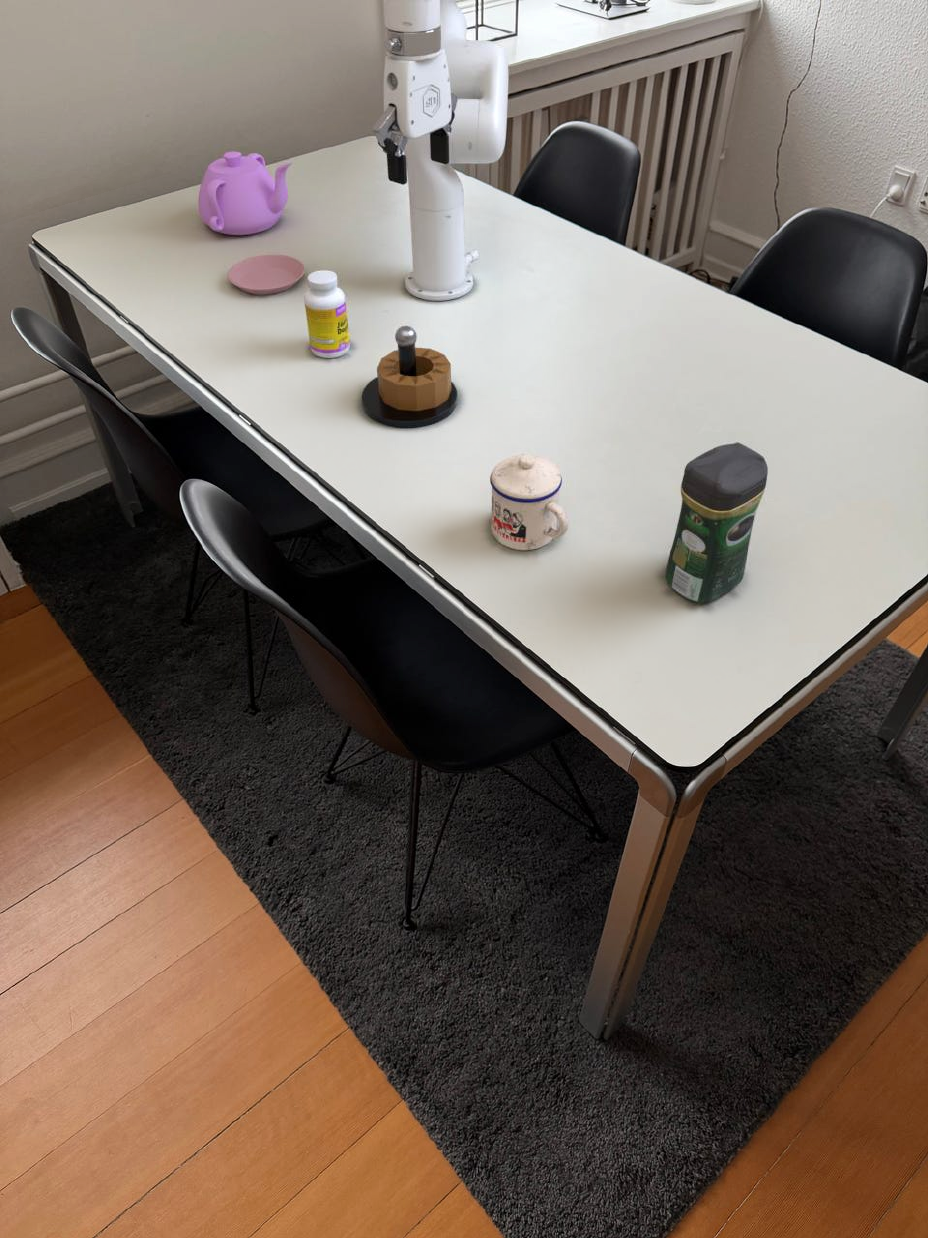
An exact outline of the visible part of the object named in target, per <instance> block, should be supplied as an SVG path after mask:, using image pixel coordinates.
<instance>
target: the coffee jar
mask: <svg viewBox="0 0 928 1238" xmlns="http://www.w3.org/2000/svg"><path fill="white" fill-rule="evenodd" d="M768 469H769V467H768V464H767V462H766V459H765V457H764V456H762V455H761V454H760V453H759V452H757V451H756V450H754V449H752V448H750V447H749V446H746V445H745V444H743V443H741V442H738V441H736V442H734V443H726V444H722V445H718V446H716V447H715V446H714V447H712V448H711V449H709V450H707V451H705V452H703V453H701V454H699V455H698V456H696V457H695V458H693V459H692V460H690V461H688V462H687V464H686V465H685V468H684V470H683V476H682V480H681V484H680V495H681V507H680V511H679V515H678V521H677V524H676V528H675V533H674V537H673V541H672V545H671V547H670V548H671V549H670V552H669V555H668V559H667V564H666V568H665V573H664V579H665V582H666V583H667V585H668V586H669V587H670V588H671V589H672V590H673V591H674V592H675V593H676V594H678V595H679V596H680V597H682V598H684V599H686V600H688V601H691V602H694V603H700V604H708V603H710V602H713V601H715V600H718V599H719V598H721V597H723V596H724V595H727V593H729V592H731V591H732V590H733V589H735V588H736V587H737V586H738V585H739V584H740V583H741V582H742V581H743V579H744V575H745V571H746V566H747V560H748V554H749V547H750V542H751V537H752V532H753V526H754V522H755V517H756V514H757V511H758V509H759V505H760V502H761V500H762V498H763V495H764V493H765V490H766V487H767V481H768V473H769V470H768Z"/></svg>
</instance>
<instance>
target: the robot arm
mask: <svg viewBox="0 0 928 1238" xmlns="http://www.w3.org/2000/svg"><path fill="white" fill-rule="evenodd" d="M383 16H384V18H383V19H384V35H385V41H384V45H383V46H384V49H385V50H386V51H385V52H386V56H384V57H385V58H384V67H383V113H382V114H381V116H380V117H379V119H378V120H377V121H376V122H375V124H374V125H373V127H372V131H373V134H374V136H375V138H376V140H377V145H378V146H379V147H380V148H381V149H382V152H383V153H384V154H386V164H387V165H386V166H387V177H388V178H387V179H388V181H390V182H392V183H396V184H399V185H402V186H403V185H406V184H408V199H409V219H410V220H409V221H410V237H411V238H410V239H411V257H412V258H411V259H412V271H411V272H409V273H408V275H406V277H405V280H404V283H405V289H406V291H407V292H408V294H410V295H412V296H414V297H415V298H418V299H422V300H426V301H436V302H437V301H438V302H439V301H441V302H442V301H451V300H454V299H458V298H460V297H463V296H465V295H467V294H468V293H470V291H471V290H472V289H473V287H474V277H473V275H472V273H470V272H469V271H468V268H469V266H471V265H470V264H472V263H474V262H476V261H478V260H479V258H480V255H479V254H480V253H479V252H478V251H477V249H472V250H470V251H468V252H467V253H466V254H465V192H464V186H463V183H462V180H461V178H460V176H459V175H458V174H457V173H458V172H456V170H455V169H454V167H453V166H452V165H454V164H467V165H468V164H473V165H475V164H476V165H477V164H478V165H479V164H480V165H481V164H482V165H483V164H484V165H485V164H493V163H495V162H498V161H499V160H500V159H501V158H502V155H503V153H504V151H505V146H506V139H507V126H508V125H507V124H508V123H507V122H508V101H509V63H508V57H507V53H506V51H505V49H504V48H503V47H502V45H501V44H500V43H498V42H496V41H492V40H483V39H482V40H481V39H480V40H478V39H477V40H476V39H467V33H468V23H467V19H466V17H465V15H464V13H463V11H462V10H461V9H460V7H459V5H458V4H457V3H456V2H455V0H383ZM396 138H398V140H397V143H395V140H396Z"/></svg>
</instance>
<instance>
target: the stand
mask: <svg viewBox="0 0 928 1238" xmlns="http://www.w3.org/2000/svg"><path fill="white" fill-rule="evenodd" d="M394 338H395V342H396V344H397V350H398V356H399V370H400V374H401V375H404V376H412V377H416V376H417V370H416V352H415V348H416V342H417V339H418V338H417V331H416V330H415V329H414V328H413V327H411V326H410V325H403V326H400V327H399V328H398V329H397V330H396V332H395V335H394ZM360 398H361V406H362V409H363V411H364V413H365V414H366V415H367V416H368V417H369V418H370V419H371V420H373V421H375V422H376V423H378V424H381V425H384V426H387V427H392V428H400V429H416V428H424V427H428V426H431V425H434V424H437V423H439V422H441V421H443V420H445V419H446V418H448V417H449V416H450V415H451V414H452V413H453V412H454V411H455V409H456V408H457V405H458V400H459V399H458V390H457V387H456V385H455V384H454V383H453V381H451V392H450V395H449V398H448V400H446V401H445V402H443V403H442V404H440V405H439V406H437V407H436V408H431V409H426V410H422V411H407V410H398V409H396V408H394V407H392V406H389V405H387V404H385V403H384V401H383V400H382V398H381V396H380V394H379V388H378V376H377V377H374V378H373V379H372V380H370V382H368V383H367V384H366V385H365V387H364V388H363V389H362V392H361V397H360Z"/></svg>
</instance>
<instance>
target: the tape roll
mask: <svg viewBox="0 0 928 1238" xmlns="http://www.w3.org/2000/svg"><path fill="white" fill-rule="evenodd" d="M415 352H416V370H417V376H416V377H412V376H404V375H401V374H400V370H399V356H398V349H395V350H393V351H391V352H389V353H388V354H386V355H384V356H383V357H381V358H380V361H379V363H378V364H377V367H376V373H377V377H378V388H379V394H380V396H381V398H382V400H383V401H384V403H385V404H387V405H389V406H392V407H394V408H396V409H398V410H407V411H422V410H426V409H431V408H436V407H437V406H439V405H440V404H442V403H443V402H445V401H446V400H448V398H449V395H450V392H451V382H452V363H451V362H450V360H449V359H448V357H447V356H446V355H445V354H444V353H442V352H439V351H437V350H434V349H432V348H428V347H427V348H425V347H415Z"/></svg>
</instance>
